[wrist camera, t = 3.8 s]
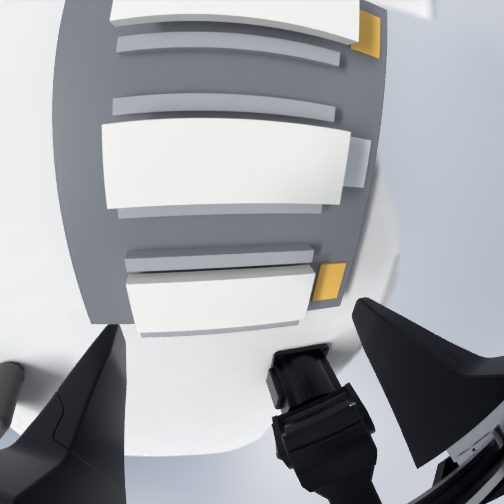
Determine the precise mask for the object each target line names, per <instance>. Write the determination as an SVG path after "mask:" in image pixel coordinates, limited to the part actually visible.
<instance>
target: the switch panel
mask: <svg viewBox="0 0 504 504" xmlns="http://www.w3.org/2000/svg"><path fill="white" fill-rule="evenodd" d="M112 4H113V0H66V1H65V5H64V10H63V14H62V19H61V24H60V30H59V35H58V42H57V49H56V57H55V67H54V79H53V101H52V126H53V149H54V162H55V172H56V181H57V189H58V196H59V203H60V209H61V215H62V220H63V225H64V230H65V235H66V240H67V244H68V248H69V252H70V257H71V260H72V264H73V268H74V272H75V275H76V279H77V282H78V285H79V289H80V292H81V295H82V298H83V301H84V304H85V307H86V310H87V313H88V316H89V319H90V321H91V324H135V322H134V318H133V314H132V310H131V306H130V301H129V297H128V292H127V288H126V282H127V278H128V274H148V273H171V272H192V271H212V270H230V269H248V268H265V267H281V266H297V265H310V267H311V268H312V269H313V271H314V272H315V278H314V282H313V287H312V291H311V295H310V300H309V304H308V308H307V311H308V310H315V309H322V308H329V307H336V306H340V304H341V301H342V298H343V295H344V291H345V288H346V285H347V281H348V278H349V274H350V271H351V267H352V264H353V260H354V256H355V252H356V249H357V245H358V241H359V237H360V233H361V229H362V224H363V220H364V216H365V211H366V206H367V202H368V197H369V192H370V187H371V182H372V176H373V171H374V165H375V159H376V153H377V147H378V140H379V133H380V125H381V117H382V108H383V99H384V86H385V74H386V56H387V10H385V9H383V8H381V7H379V6H376V5H374V4H372V3H369V2H367V1H365V0H359V42H357V43H353V44H349V45H346V44H343V43H340V42H336V41H333V40H329V39H326V38H322V37H318V36H314V35H309V34H305V33H301V32H296V31H291V30H285V29H280V28H274V27H267V26H260V25H252V24H243V23H232V22H216V21H169V22H153V23H142V24H133V25H126V26H119V27H114V25H113V24H112V23H111V22H110V15H111V9H112ZM168 118H236V119H255V120H268V121H280V122H289V123H298V124H306V125H314V126H321V127H327V128H334V129H340V130H344V131H349V132H351V135H350V143H349V150H348V157H347V164H346V170H345V176H344V182H343V188H342V194H341V199H340V205H334V204H291V203H235V204H191V205H166V206H146V207H129V208H115V209H107V203H106V193H105V183H104V170H103V153H102V125H103V124H108V123H116V122H125V121H136V120H149V119H168ZM298 323H299V320H296V321H288V322H280V323H272V324H263V325H254V326H244V327H233V328H221V329H208V330H192V331H173V332H146V333H141V337H170V336H190V335H205V334H218V333H230V332H241V331H251V330H260V329H269V328H277V327H285V326H293V325H298Z"/></svg>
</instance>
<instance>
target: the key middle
mask: <svg viewBox="0 0 504 504" xmlns="http://www.w3.org/2000/svg"><path fill="white" fill-rule="evenodd" d="M350 135H351V132H349V131H344V130H340V129H334V128H327V127H321V126H314V125H306V124H298V123H289V122H280V121H268V120H255V119H236V118H168V119H149V120H136V121H125V122H116V123H108V124H103V125H102V153H103V170H104V183H105V193H106V203H107V209H115V208H129V207H146V206H166V205H191V204H235V203H291V204H334V205H340V199H341V194H342V188H343V182H344V176H345V170H346V164H347V157H348V150H349V143H350Z"/></svg>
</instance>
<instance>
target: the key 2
mask: <svg viewBox="0 0 504 504" xmlns="http://www.w3.org/2000/svg"><path fill="white" fill-rule="evenodd" d="M169 21H216V22H232V23H243V24H252V25H260V26H267V27H274V28H280V29H285V30H291V31H296V32H301V33H305V34H309V35H314V36H318V37H322V38H326V39H329V40H333V41H336V42H340V43H343V44H346V45H349V44H353V43H357V42H359V0H113V4H112V9H111V15H110V22H111V23H112V24H113V25H114V27H119V26H126V25H133V24H142V23H153V22H169Z"/></svg>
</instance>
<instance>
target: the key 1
mask: <svg viewBox="0 0 504 504" xmlns="http://www.w3.org/2000/svg"><path fill="white" fill-rule="evenodd" d="M314 278H315V272H314V271H313V269H312V268H311V267H310V265H297V266H281V267H265V268H248V269H230V270H212V271H192V272H171V273H148V274H128V278H127V282H126V288H127V292H128V297H129V301H130V306H131V310H132V314H133V318H134V322H135V326H136V329H137V333H146V332H173V331H192V330H208V329H221V328H233V327H244V326H254V325H263V324H272V323H280V322H288V321H296V320H303V319H305V316H306V312H307V308H308V304H309V300H310V295H311V291H312V287H313V282H314Z"/></svg>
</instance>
